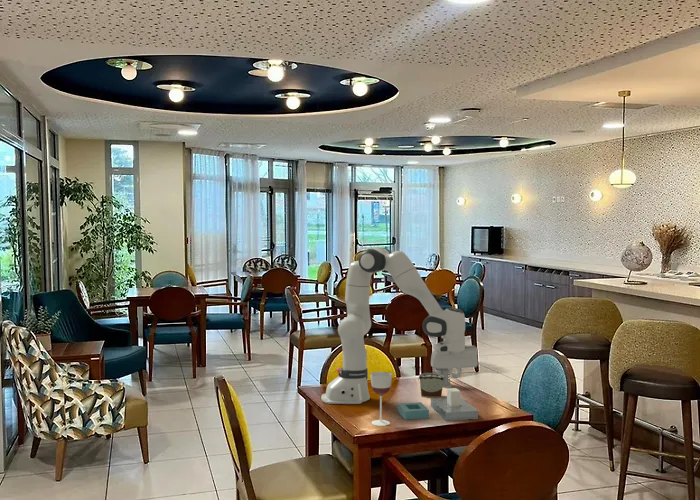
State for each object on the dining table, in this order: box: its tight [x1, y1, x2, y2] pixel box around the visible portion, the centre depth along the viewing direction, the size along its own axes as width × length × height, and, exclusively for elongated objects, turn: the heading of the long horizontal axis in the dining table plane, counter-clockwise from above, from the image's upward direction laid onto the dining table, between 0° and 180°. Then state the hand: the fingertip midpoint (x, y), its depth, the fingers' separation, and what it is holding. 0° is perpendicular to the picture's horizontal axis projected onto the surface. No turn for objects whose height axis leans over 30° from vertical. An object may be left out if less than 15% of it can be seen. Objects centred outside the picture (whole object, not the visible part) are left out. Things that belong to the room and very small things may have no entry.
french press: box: [434, 336, 453, 389], centre depth 311 cm, size 10×12×25 cm
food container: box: [418, 372, 445, 398], centre depth 294 cm, size 12×6×10 cm, turn 84°
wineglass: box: [370, 371, 393, 427], centre depth 252 cm, size 8×9×20 cm
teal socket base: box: [397, 402, 430, 420], centre depth 263 cm, size 10×11×4 cm
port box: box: [430, 397, 479, 422], centre depth 266 cm, size 14×20×4 cm
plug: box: [446, 387, 461, 407], centre depth 266 cm, size 4×5×10 cm
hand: (454, 377), depth 266 cm, fingers closed
